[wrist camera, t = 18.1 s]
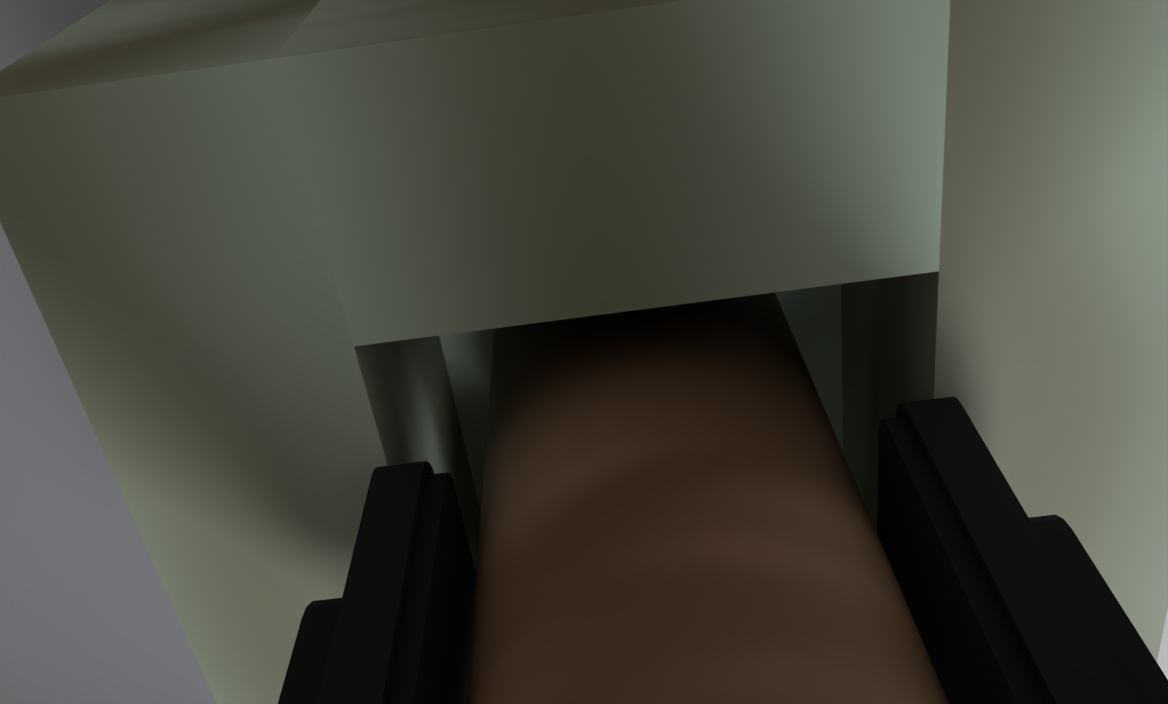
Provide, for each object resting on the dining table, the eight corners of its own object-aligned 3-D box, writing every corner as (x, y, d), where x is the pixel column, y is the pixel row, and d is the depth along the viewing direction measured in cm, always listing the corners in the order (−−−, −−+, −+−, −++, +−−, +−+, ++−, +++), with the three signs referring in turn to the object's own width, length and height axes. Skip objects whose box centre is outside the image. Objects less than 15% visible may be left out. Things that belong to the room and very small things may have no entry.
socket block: (1058, -153, 12) (1306, -88, 8) (996, 557, 18) (1128, 806, 14) (140, -19, 13) (-53, 105, 9) (357, 631, 19) (302, 892, 14)
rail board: (1412, -359, 12) (1923, -402, 8) (1210, 563, 19) (1412, 824, 15) (-720, -33, 13) (-1373, 96, 9) (-171, 721, 21) (-377, 1007, 16)
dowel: (765, 190, 13) (1180, 1025, 5) (803, 445, 15) (1144, 1362, 7) (457, 259, 14) (319, 1160, 5) (532, 500, 16) (526, 1444, 7)
